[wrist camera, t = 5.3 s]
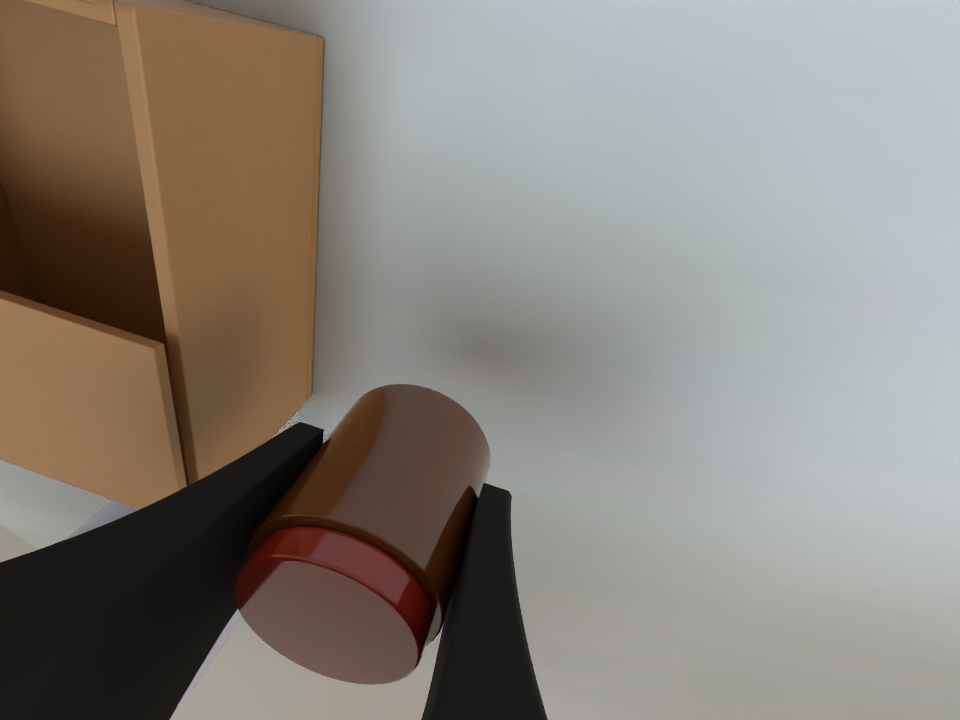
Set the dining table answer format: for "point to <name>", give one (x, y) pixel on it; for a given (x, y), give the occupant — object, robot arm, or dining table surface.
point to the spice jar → (368, 538)
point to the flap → (87, 1)
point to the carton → (153, 239)
